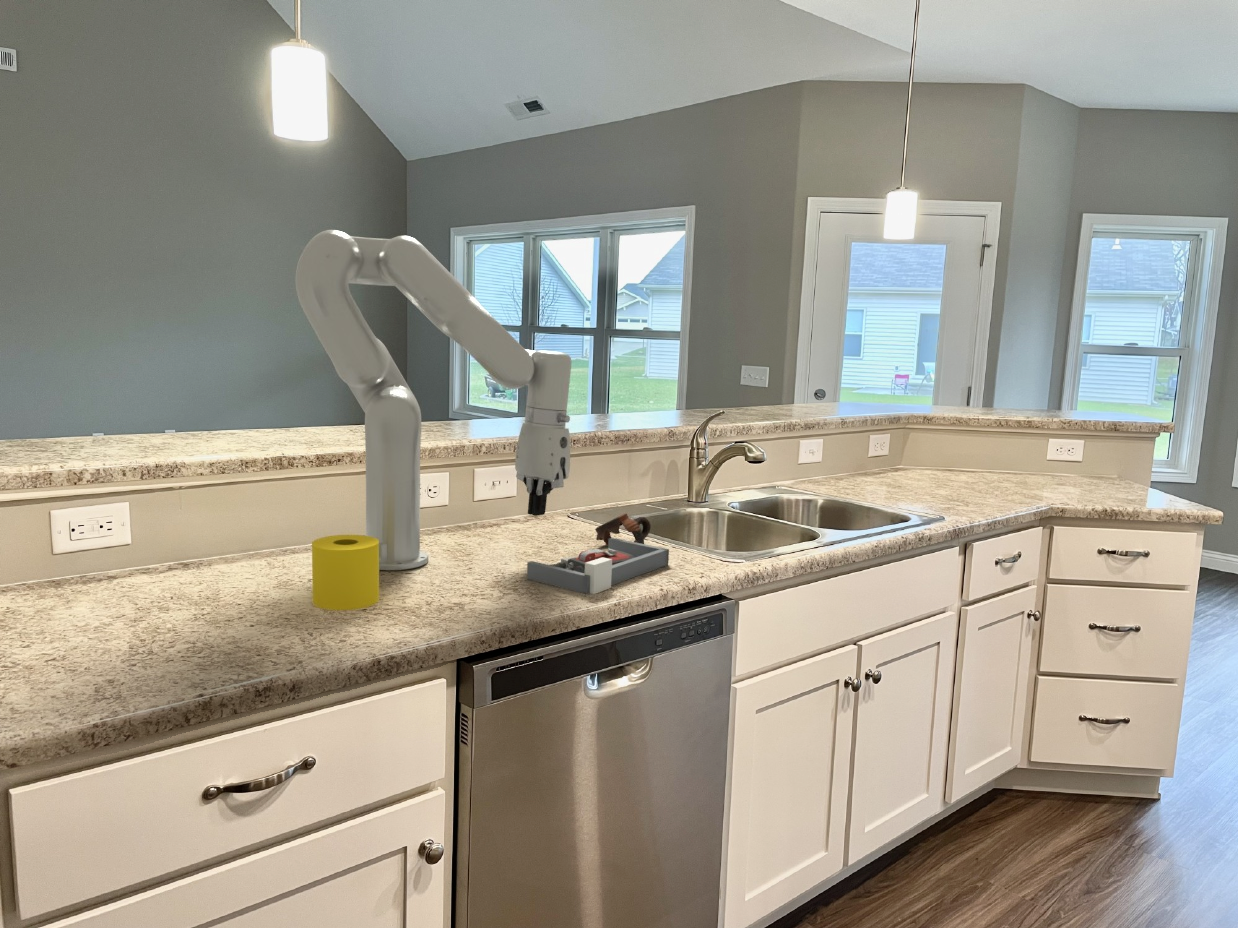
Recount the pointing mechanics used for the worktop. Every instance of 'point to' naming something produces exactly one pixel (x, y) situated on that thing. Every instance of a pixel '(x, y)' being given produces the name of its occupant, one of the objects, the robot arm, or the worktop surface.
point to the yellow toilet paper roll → (345, 572)
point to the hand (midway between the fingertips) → (536, 514)
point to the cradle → (602, 568)
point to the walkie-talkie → (586, 556)
